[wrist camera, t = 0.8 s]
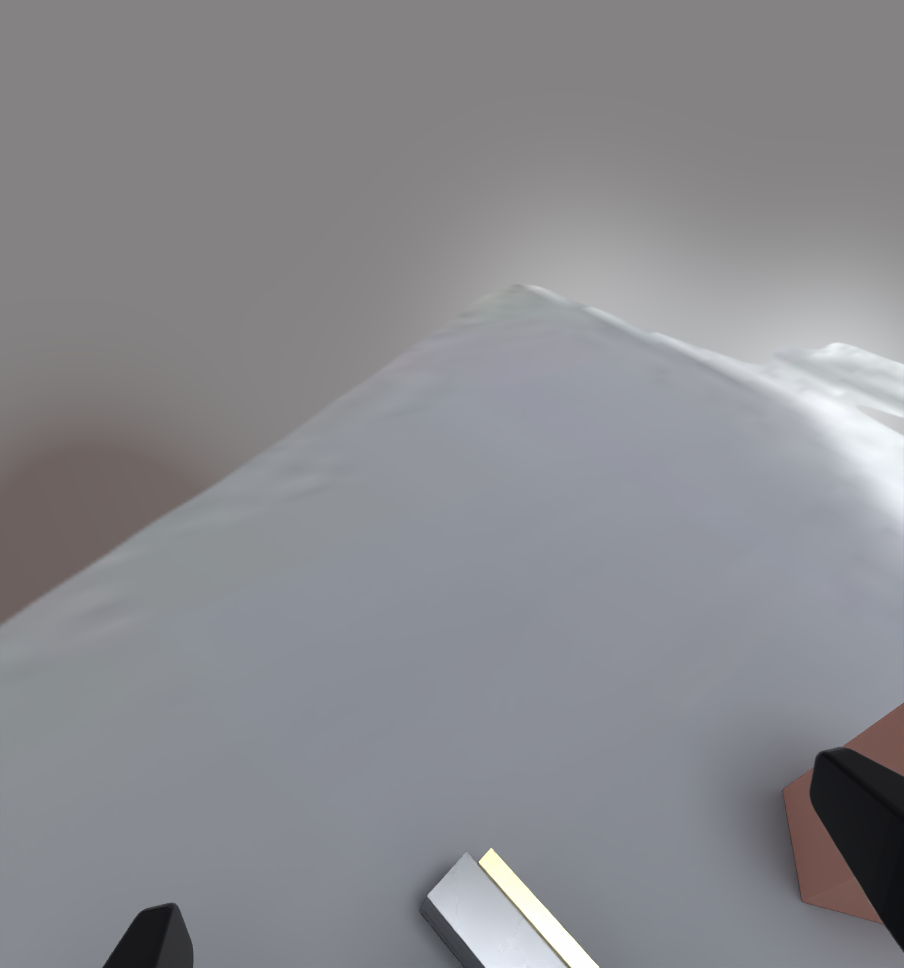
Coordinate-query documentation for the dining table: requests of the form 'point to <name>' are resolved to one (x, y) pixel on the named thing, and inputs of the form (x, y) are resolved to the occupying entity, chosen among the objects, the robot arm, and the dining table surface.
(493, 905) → the price rail
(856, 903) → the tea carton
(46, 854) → the dining table surface
